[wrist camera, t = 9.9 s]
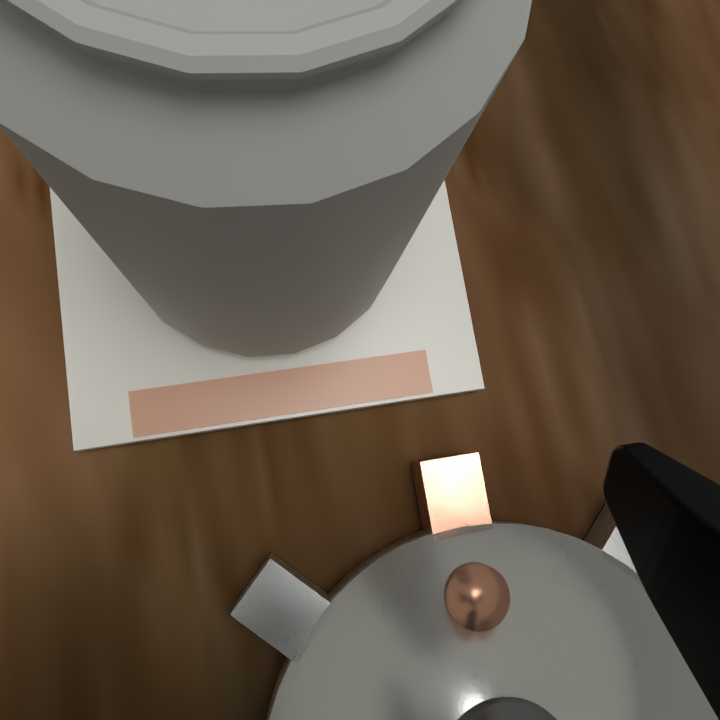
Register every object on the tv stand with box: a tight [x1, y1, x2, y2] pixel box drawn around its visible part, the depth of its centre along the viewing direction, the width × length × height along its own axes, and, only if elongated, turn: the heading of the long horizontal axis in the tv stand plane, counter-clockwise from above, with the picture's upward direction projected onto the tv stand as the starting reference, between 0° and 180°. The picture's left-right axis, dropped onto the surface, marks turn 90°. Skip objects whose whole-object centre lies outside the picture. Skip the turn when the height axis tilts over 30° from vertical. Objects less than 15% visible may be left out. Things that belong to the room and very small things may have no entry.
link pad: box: [50, 180, 484, 451], centre depth 18 cm, size 11×11×1 cm
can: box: [0, 0, 532, 357], centre depth 12 cm, size 8×8×12 cm
